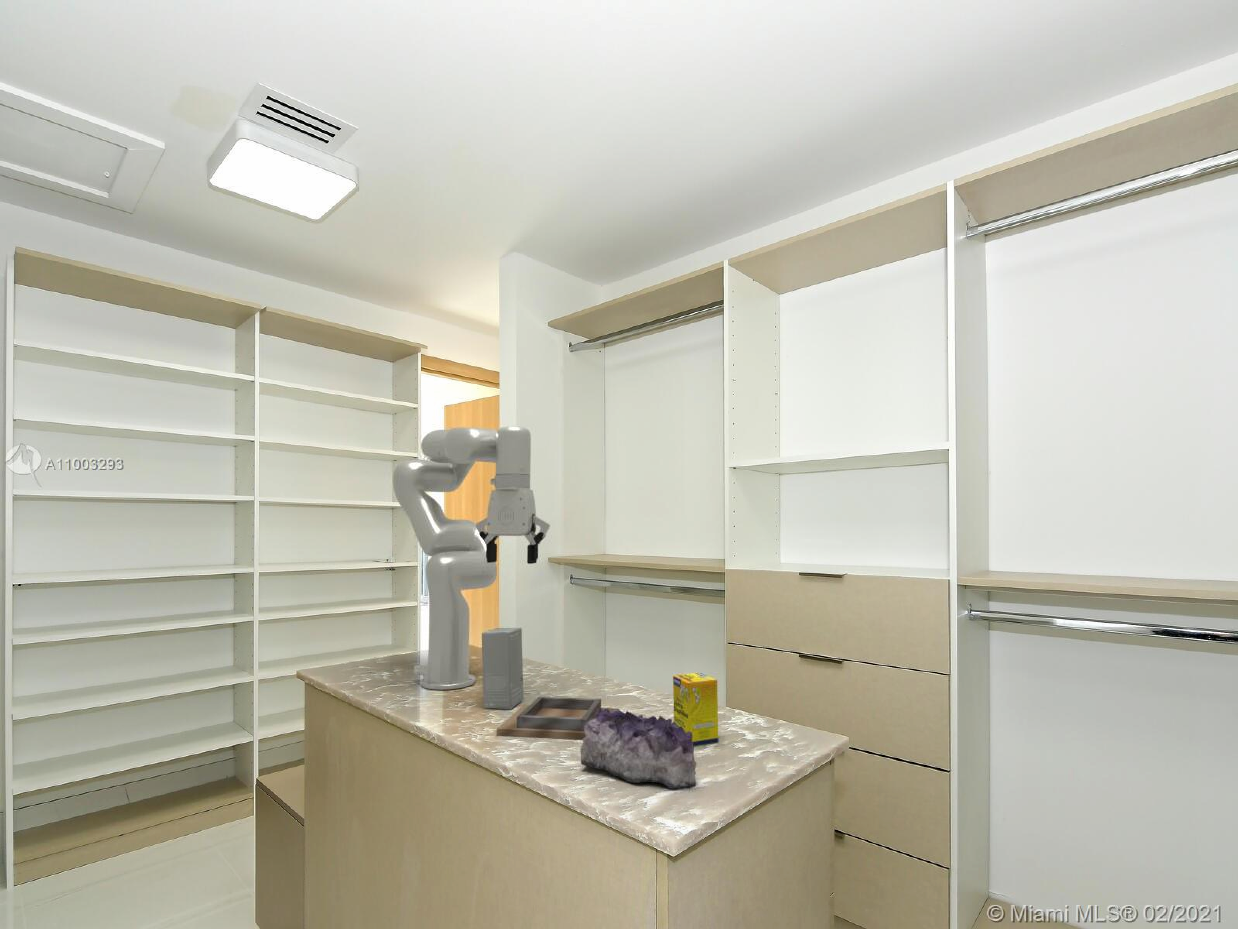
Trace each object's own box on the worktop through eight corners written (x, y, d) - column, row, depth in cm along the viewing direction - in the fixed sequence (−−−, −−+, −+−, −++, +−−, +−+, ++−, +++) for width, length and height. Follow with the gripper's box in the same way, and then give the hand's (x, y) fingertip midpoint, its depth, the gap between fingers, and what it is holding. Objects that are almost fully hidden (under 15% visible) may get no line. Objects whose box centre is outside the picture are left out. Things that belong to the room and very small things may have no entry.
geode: (716, 773, 101) (713, 710, 101) (679, 810, 92) (675, 740, 92) (611, 743, 113) (607, 686, 113) (568, 773, 104) (564, 711, 103)
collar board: (496, 735, 119) (496, 717, 120) (523, 710, 135) (523, 694, 135) (604, 741, 116) (604, 722, 116) (619, 714, 132) (619, 698, 132)
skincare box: (511, 710, 135) (511, 632, 136) (478, 709, 136) (479, 631, 138) (525, 699, 143) (525, 626, 145) (494, 698, 145) (495, 625, 146)
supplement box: (672, 737, 118) (672, 675, 119) (701, 732, 120) (700, 671, 121) (689, 747, 112) (688, 682, 113) (719, 742, 115) (717, 678, 116)
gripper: (468, 483, 142) (467, 563, 140) (541, 482, 136) (540, 565, 135) (486, 485, 149) (485, 560, 148) (556, 484, 143) (555, 562, 142)
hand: (511, 562), depth 141 cm, fingers open, 9 cm apart
